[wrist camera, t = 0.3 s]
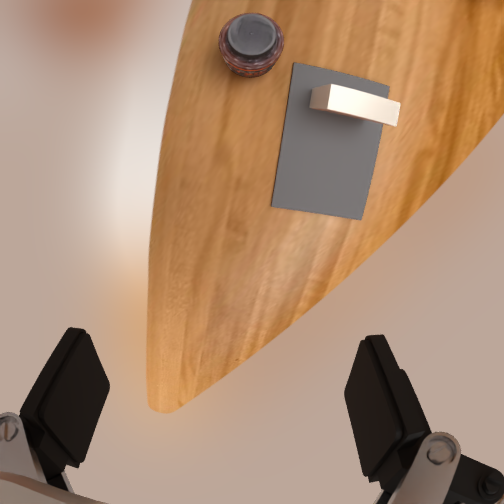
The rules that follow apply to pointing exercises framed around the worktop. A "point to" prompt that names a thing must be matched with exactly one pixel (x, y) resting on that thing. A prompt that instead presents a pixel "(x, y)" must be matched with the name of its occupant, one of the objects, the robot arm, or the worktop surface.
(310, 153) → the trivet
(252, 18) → the supplement bottle
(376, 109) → the block
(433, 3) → the worktop surface
